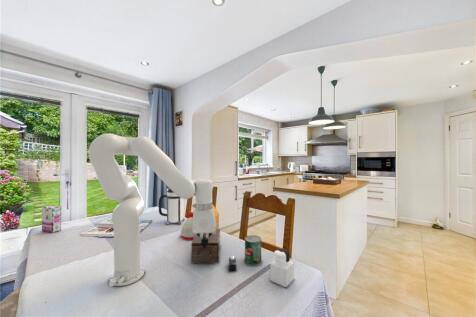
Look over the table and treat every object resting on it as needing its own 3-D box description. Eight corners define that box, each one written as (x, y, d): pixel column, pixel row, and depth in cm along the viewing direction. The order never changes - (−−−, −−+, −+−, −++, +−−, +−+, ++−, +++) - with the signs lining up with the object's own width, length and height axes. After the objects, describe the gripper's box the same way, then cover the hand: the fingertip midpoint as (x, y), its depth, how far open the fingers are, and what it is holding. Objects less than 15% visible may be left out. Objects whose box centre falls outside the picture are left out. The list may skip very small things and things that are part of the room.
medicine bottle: (278, 272, 86) (278, 245, 86) (293, 279, 81) (294, 250, 81) (269, 280, 80) (269, 251, 80) (286, 288, 76) (286, 256, 76)
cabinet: (218, 262, 95) (218, 242, 95) (191, 262, 94) (191, 243, 94) (220, 245, 112) (220, 229, 112) (197, 245, 112) (197, 229, 112)
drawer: (216, 267, 88) (216, 251, 88) (189, 268, 87) (189, 251, 87) (218, 246, 109) (218, 232, 109) (197, 246, 109) (197, 233, 109)
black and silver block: (236, 271, 87) (236, 263, 87) (228, 271, 87) (228, 263, 87) (236, 262, 94) (236, 254, 94) (228, 262, 94) (228, 255, 94)
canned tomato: (264, 260, 96) (264, 237, 96) (256, 267, 90) (256, 243, 90) (250, 255, 101) (250, 234, 101) (241, 262, 94) (241, 239, 94)
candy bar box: (61, 230, 135) (61, 206, 135) (52, 233, 130) (52, 208, 130) (50, 228, 139) (50, 205, 138) (41, 231, 134) (41, 206, 134)
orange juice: (201, 240, 119) (201, 207, 119) (207, 234, 128) (207, 203, 127) (213, 242, 117) (213, 208, 117) (219, 236, 125) (219, 204, 125)
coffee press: (179, 217, 163) (179, 181, 163) (188, 222, 151) (188, 183, 151) (158, 222, 152) (158, 183, 152) (166, 227, 140) (165, 185, 140)
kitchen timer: (192, 241, 117) (192, 216, 117) (176, 236, 124) (176, 213, 124) (207, 234, 129) (207, 211, 129) (192, 230, 136) (192, 208, 136)
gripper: (185, 209, 86) (186, 251, 86) (220, 208, 87) (220, 249, 87) (189, 204, 93) (189, 243, 94) (220, 204, 94) (221, 242, 94)
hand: (204, 246), depth 90 cm, fingers closed
